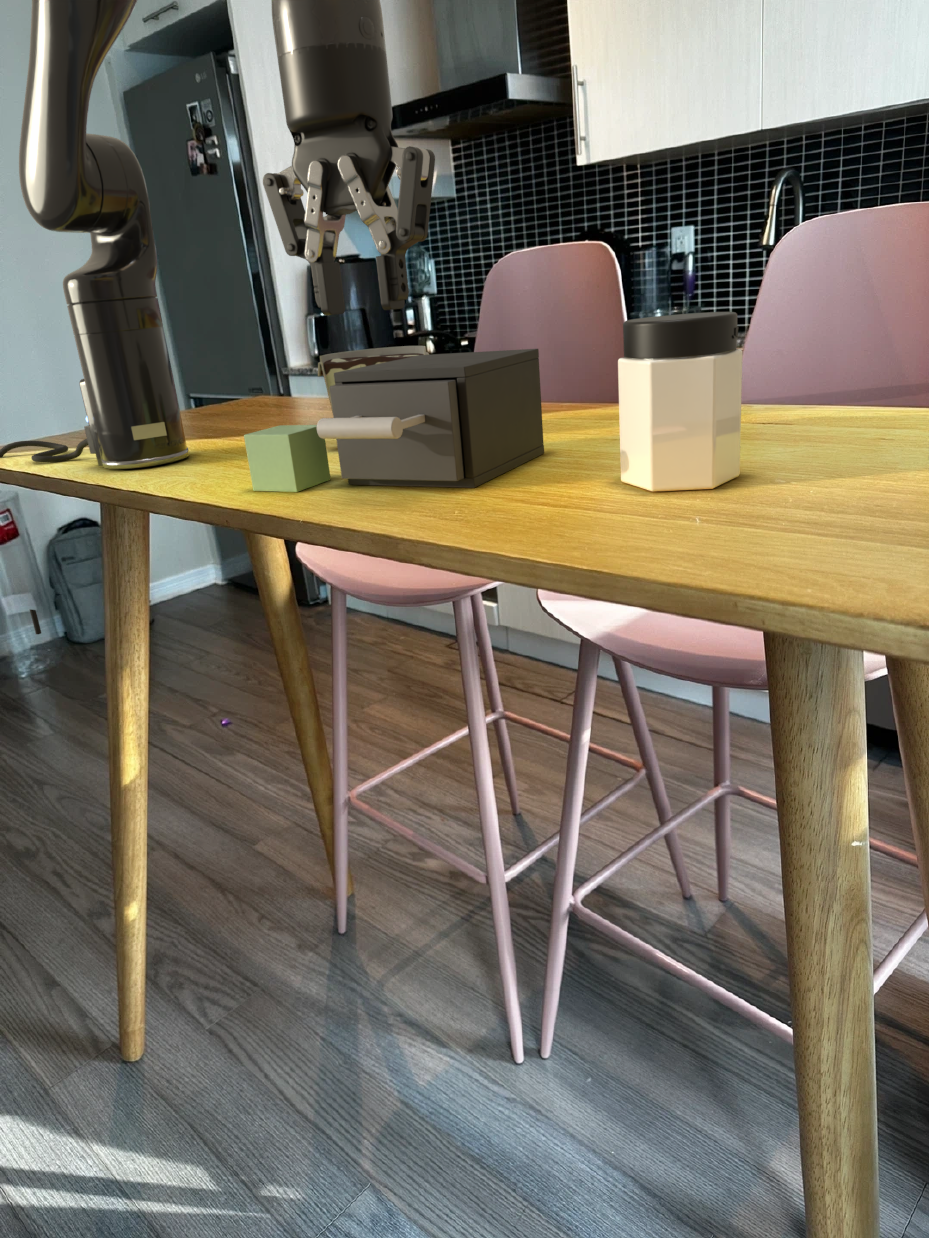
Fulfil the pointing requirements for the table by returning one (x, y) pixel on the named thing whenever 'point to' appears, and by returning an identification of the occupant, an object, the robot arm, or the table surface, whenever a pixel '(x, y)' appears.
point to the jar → (680, 401)
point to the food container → (362, 360)
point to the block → (287, 458)
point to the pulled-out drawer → (397, 429)
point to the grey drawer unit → (476, 408)
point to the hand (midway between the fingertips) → (362, 310)
